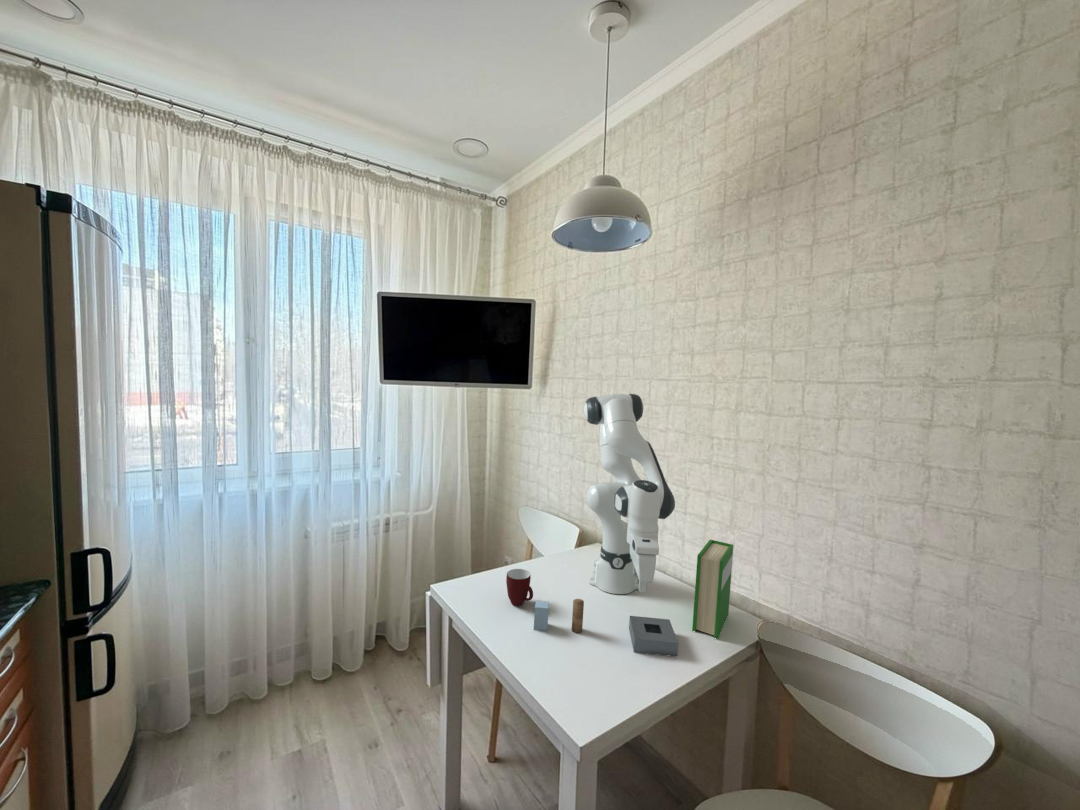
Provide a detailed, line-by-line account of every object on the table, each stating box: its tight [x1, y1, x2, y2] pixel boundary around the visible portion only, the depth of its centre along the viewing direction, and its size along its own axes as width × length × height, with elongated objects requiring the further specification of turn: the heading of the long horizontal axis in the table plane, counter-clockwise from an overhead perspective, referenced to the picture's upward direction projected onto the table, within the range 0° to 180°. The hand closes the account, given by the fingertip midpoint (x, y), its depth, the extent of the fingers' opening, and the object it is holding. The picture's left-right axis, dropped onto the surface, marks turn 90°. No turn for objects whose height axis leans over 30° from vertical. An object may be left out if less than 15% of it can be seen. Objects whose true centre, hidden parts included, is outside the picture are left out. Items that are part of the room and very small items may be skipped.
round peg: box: [571, 598, 585, 634], centre depth 129 cm, size 3×3×9 cm
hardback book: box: [691, 539, 734, 640], centre depth 137 cm, size 18×7×24 cm, turn 147°
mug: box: [505, 568, 534, 607], centre depth 143 cm, size 10×8×10 cm
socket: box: [628, 615, 679, 657], centre depth 126 cm, size 12×12×4 cm
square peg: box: [533, 600, 550, 632], centre depth 131 cm, size 4×4×7 cm
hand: (639, 583), depth 126 cm, fingers open, 8 cm apart
